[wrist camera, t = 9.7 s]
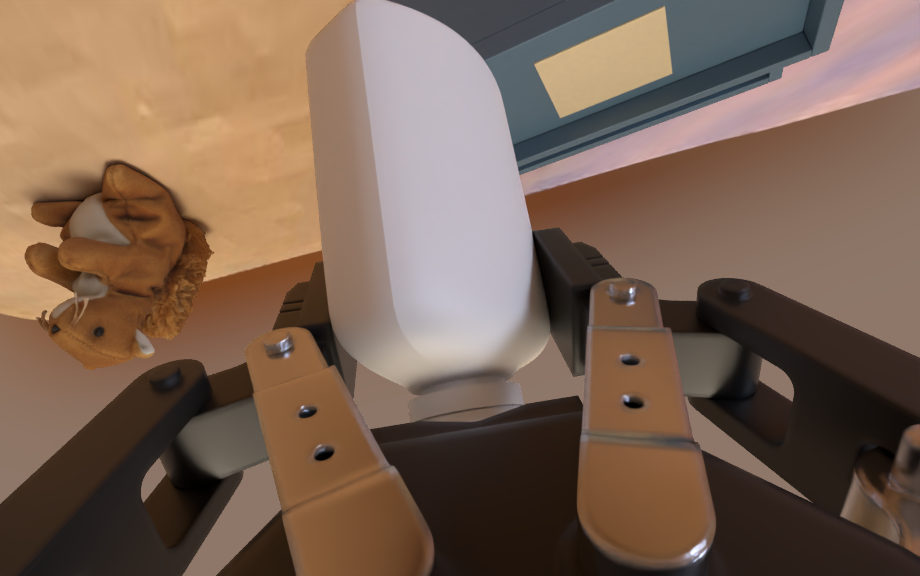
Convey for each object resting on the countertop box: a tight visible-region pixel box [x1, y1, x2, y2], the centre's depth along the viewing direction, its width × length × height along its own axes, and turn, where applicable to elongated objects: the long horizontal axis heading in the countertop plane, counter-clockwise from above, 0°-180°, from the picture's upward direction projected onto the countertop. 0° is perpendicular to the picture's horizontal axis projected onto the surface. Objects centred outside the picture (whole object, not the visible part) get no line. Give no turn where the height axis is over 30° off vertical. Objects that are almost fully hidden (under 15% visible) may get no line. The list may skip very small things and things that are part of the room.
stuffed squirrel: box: [25, 164, 214, 370], centre depth 43 cm, size 10×14×13 cm
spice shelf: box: [387, 0, 844, 175], centre depth 31 cm, size 20×16×8 cm
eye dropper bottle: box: [306, 0, 550, 423], centre depth 12 cm, size 4×6×12 cm
